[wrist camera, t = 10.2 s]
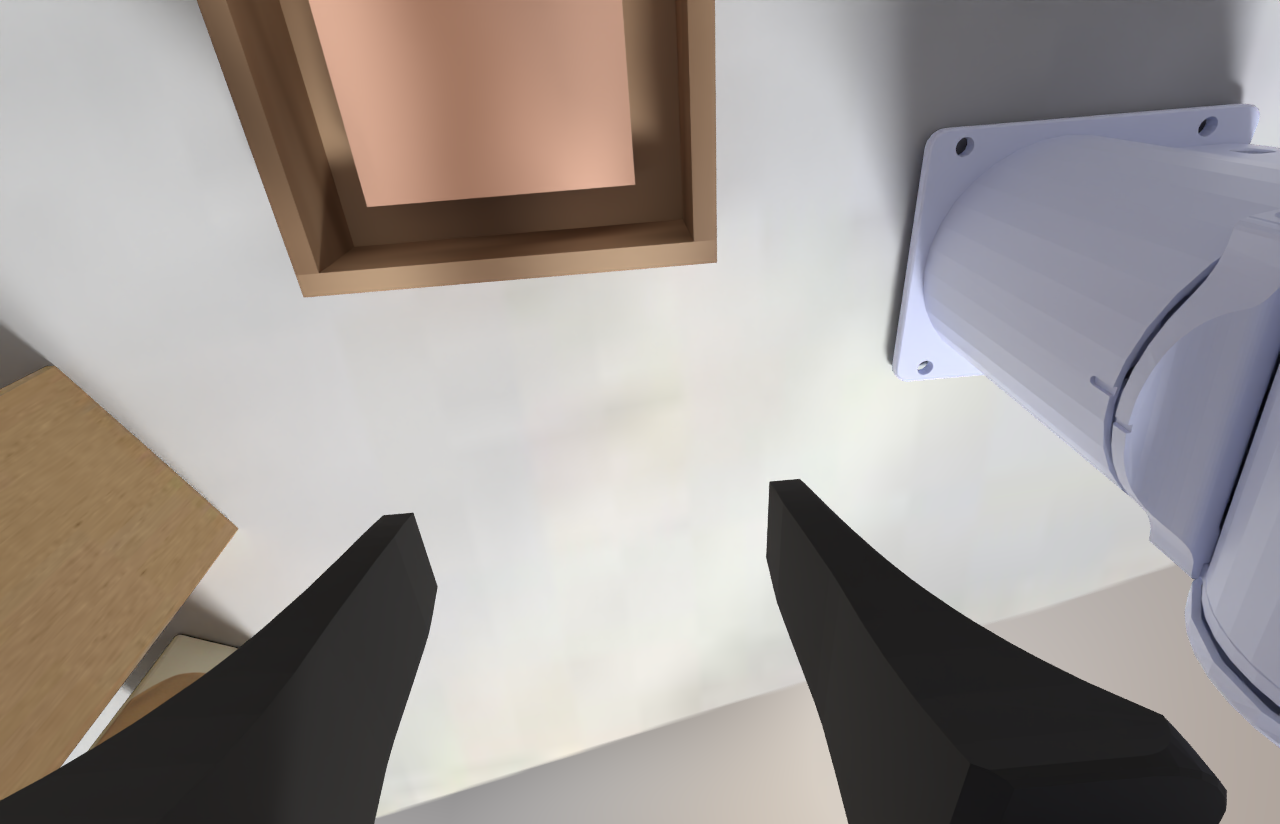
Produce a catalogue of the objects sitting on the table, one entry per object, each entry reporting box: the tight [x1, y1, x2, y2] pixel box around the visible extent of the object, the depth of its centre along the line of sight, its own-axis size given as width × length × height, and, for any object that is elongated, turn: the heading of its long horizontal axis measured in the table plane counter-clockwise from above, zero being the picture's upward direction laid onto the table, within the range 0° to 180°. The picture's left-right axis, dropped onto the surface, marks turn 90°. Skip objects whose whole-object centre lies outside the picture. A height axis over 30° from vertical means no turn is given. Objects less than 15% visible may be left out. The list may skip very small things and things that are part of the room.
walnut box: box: [197, 0, 717, 297], centre depth 15 cm, size 11×9×3 cm
